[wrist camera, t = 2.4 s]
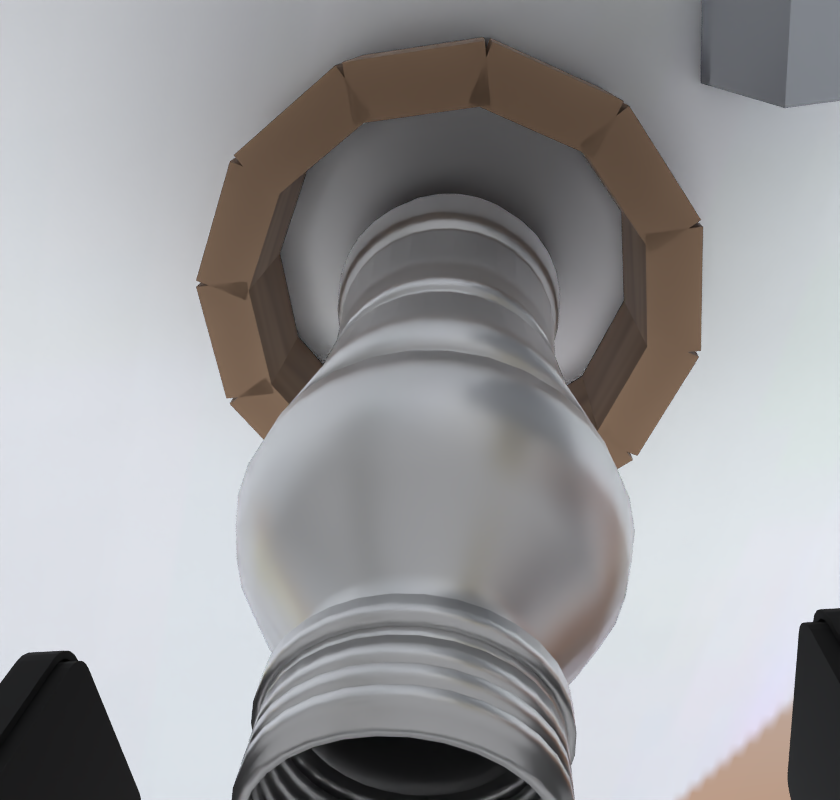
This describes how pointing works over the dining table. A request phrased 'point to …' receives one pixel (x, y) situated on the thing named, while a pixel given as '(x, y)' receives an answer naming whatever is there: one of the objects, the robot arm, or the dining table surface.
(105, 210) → the dining table surface
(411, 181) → the dining table surface
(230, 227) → the walnut collar
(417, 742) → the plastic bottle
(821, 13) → the charcoal bin
